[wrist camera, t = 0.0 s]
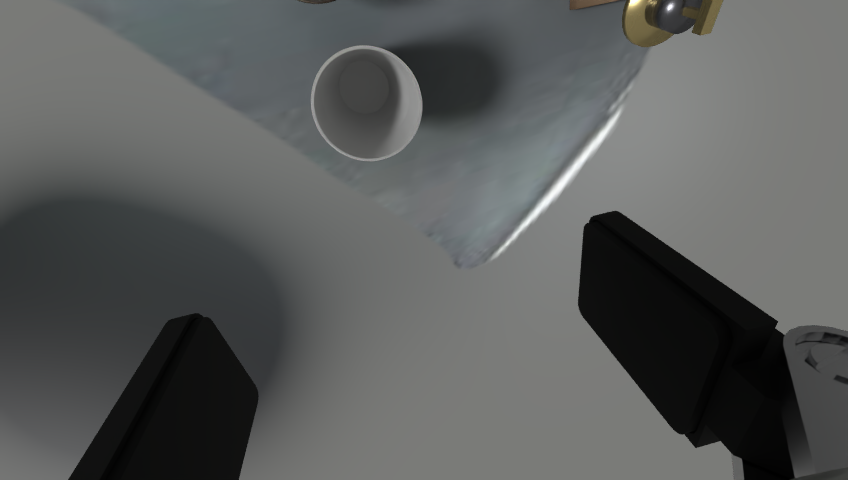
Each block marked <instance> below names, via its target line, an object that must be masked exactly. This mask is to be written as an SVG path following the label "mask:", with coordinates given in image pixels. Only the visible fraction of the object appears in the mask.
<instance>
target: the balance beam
mask: <svg viewBox="0 0 848 480" xmlns="http://www.w3.org/2000/svg"><path fill="white" fill-rule="evenodd" d="M722 2H723V0H626V3H625V6H624V10H623V16H622V27H623V32H624V34H625V36H626V38H627V39H628V40H629V41H630V42H631V43H633V44H635V45H638V46H641V47H651V46H655V45H657V44H660V43H662V42H664V41H666V40H667V39H668V38H670V37H671V36H672V35H674V34H679V33H682V32H684V31H686V30H688V29H689V28H691V27H692V26H693V25H694V27H693V30H692V33H695V34H698V35H704V34H709V33H711V31H712V28H713V26H714V23H715V20H716V18H717V15H718V12H719V10H720V7H721V4H722Z"/></svg>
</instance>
